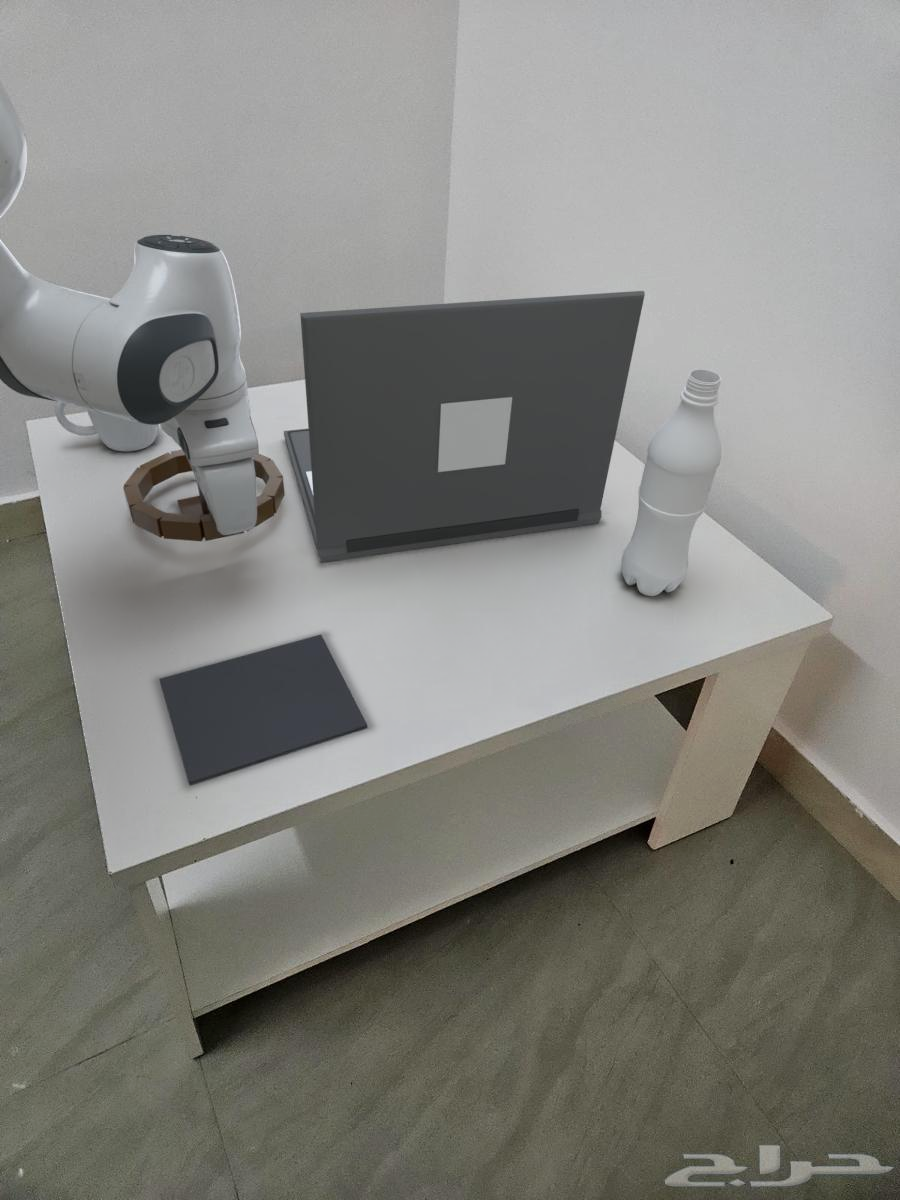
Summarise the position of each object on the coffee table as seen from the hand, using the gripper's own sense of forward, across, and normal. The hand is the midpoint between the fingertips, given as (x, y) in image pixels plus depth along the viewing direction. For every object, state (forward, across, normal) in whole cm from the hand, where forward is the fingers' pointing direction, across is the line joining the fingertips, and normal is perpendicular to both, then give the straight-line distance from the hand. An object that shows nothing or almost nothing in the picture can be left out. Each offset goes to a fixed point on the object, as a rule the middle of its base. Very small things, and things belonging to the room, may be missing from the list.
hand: (221, 520), depth 90 cm
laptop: (+4, -5, +28) cm, 29 cm away
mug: (+4, -29, -8) cm, 30 cm away
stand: (+4, -8, 0) cm, 9 cm away
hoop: (+2, -8, 0) cm, 8 cm away
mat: (+4, +24, -3) cm, 25 cm away
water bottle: (+4, +23, +42) cm, 49 cm away
